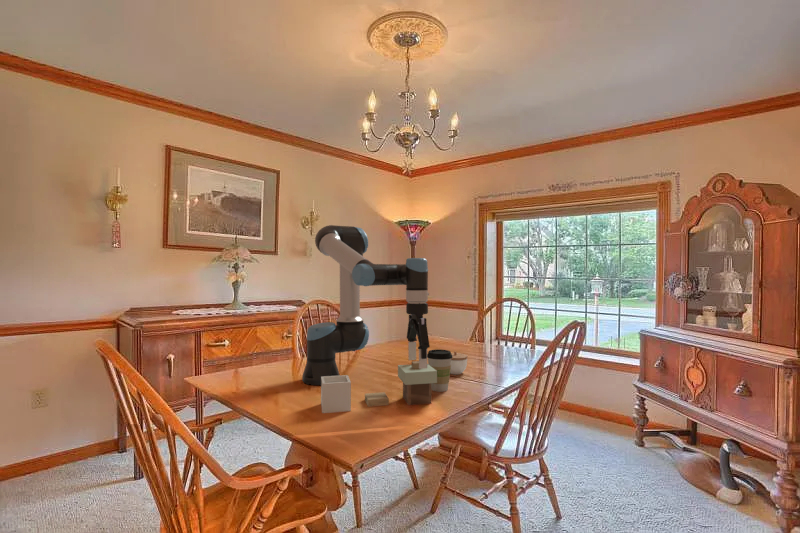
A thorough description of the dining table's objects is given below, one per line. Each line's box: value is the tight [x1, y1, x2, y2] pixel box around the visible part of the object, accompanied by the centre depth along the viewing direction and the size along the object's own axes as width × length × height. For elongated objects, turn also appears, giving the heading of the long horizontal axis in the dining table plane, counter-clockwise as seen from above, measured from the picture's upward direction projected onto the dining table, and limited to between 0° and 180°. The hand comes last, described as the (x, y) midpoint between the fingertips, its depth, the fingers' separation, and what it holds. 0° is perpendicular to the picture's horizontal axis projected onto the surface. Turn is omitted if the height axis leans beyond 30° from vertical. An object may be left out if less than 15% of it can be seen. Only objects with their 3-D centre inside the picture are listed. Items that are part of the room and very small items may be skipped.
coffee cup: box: [427, 348, 452, 393], centre depth 156 cm, size 10×10×15 cm
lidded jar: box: [450, 351, 468, 375], centre depth 184 cm, size 11×11×9 cm
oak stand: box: [364, 391, 390, 408], centre depth 141 cm, size 7×7×3 cm
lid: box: [397, 360, 437, 385], centre depth 143 cm, size 11×11×6 cm
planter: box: [320, 374, 352, 414], centre depth 135 cm, size 9×9×10 cm
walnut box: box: [402, 382, 432, 406], centre depth 143 cm, size 8×8×8 cm
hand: (417, 364), depth 143 cm, fingers open, 13 cm apart
